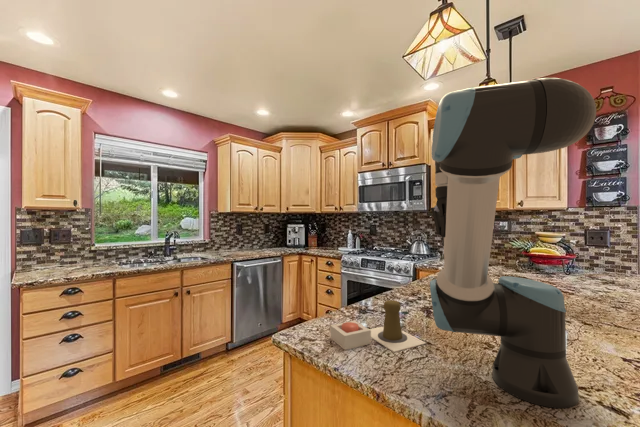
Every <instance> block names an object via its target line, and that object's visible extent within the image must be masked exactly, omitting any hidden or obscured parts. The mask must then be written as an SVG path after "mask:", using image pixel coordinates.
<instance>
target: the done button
mask: <svg viewBox="0 0 640 427" xmlns="http://www.w3.org/2000/svg"><path fill="white" fill-rule="evenodd" d="M345 322H346V323H345ZM345 322H342V323H343V324H342V330H343V331H344V332H346V333H349V332H354V331H358V324H356V323H353V322H350V321H345Z"/></svg>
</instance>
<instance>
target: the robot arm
mask: <svg viewBox="0 0 640 427" xmlns="http://www.w3.org/2000/svg"><path fill="white" fill-rule="evenodd" d="M596 118H597V105H596V101H595V99H594V96H593V95H592V93H591V92H589V91H588V89H586V87H584V86H582V85H581V84H579V83H577V82H575V81H572V80H570V79H566V78H561V77H559V78H558V77H542V78H535V79H530V80H524V81H523V80H522V81H515V82H506V83H505V82H504V83H499V84H492V85H491V84H490V85H483V86H481V85H480V86H475V87H473V86H472V87H468V88H463V89H459V90H455V91H454V90H453V91H449V92H447V93H446V94H445V95H444V96H442V98H441V99H440V101H439V103H438V106H437V109H436V114H435V119H434V124H433V130H432V131H433V132H432V142H431V143H432V144H431V159H432V160H433V161H434V168H435V169H434V170H435V172H434V174H435V175H434V176H435V177H434V179H435V180H434V183H435V184H434V185H435V186H436V187H435V192H434V193H435V198H436V203H435V204H436V205H434V207H430V212H431V213H432V215H433V220H434V225H435V229H436V234H437V235H438V236H439V235H440V236H441V239H442V242H441V243H442V247H443V256H444V259H443V260H444V262H443V263H444V264H443V266H444V267H443V269H441V270H440V271H439V272H438V273H437V275H436V278H434V279H431V280H430V281H429V292H430V299H431V306H432V312H433V314H432V315H433V319H434V320H433V321H434V323H435V326H436V327H437V328H438V329H439V330H441V331H446V332H452V333H455V334H456V333H459V334H460V333H462V334H474V335H483V336H494V337H500V345H499V348H498V350H497V353H496V355H495V358H494V361H493V363H492V367H491V368H492V379H493V381H494V382H495V384H496V385H497V386H498V387H500V388H501V389H502V390H504V391H505V392H506V393H508V394H510V395H512V396H513V397H516V398H518V399H521V400H523V401H524V402H529V403H531V404H535V405H538V406H543V407H547V408H555V409H557V408H558V409H562V408H563V409H565V408H566V409H567V408H570V407H574V406H575V405H577V404H578V403H579V399H580V398H579V388H578V385H577V384H578V383H576V382H577V381H576V379H575V376H574V374H573V372H572V369H571V366H570V365H569V362H568V360H567V345H566V344H567V343H566V342H567V340H566V339H567V338H566V335H567V334H566V331H567V330H566V313H567V309H566V306H565V296H564V294H563V292H562V291H561V289H559V288H558V287H556V286H554V285H551V284H548V283H546V282H542V281H539V280H538V281H537V280H533V279H530V278H526V277H525V278H524V277H517V276H510V275H509V276H508V275H507V276H504V275H503V276H500V277H499V278H498V280H497V282H498V283H495V282H494V281H493V280H492V277H490V276H489V275H488V274H489V266H490V265H489V264H490V259H491V258H490V256H491V250H492V242H493V235H494V225H495V220H496V219H495V218H496V211H497V202H498V195H499V187H500V179H501V177H502V176H504V175H505V174H507V173H508V172H509V171H511V169H512V167H513V160H517V159H520V158H522V157H523V155H524V156H525V155H534V154H542V153H547V152H548V153H549V152H554V151H558V150H561V149H565V148H567V147H570V146H572V145H573V144H575V143H577V142H580V140H582V139H583V137H585V136H586V135H587V134H588V133H589V132H590V130H592V128H593V126H594V123H595V121H596Z"/></svg>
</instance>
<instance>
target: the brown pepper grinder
mask: <svg viewBox="0 0 640 427" xmlns="http://www.w3.org/2000/svg"><path fill="white" fill-rule="evenodd" d="M383 310H384V312H385V313H384V320H383V326H384V329H383V337H384V338H386V339H388V340H400V339H402V331H403V329H402V325H401V318H400V311H401V304H400V302H399V301H398V300H394V299H389V300H385V301H384V303H383Z"/></svg>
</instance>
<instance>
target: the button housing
mask: <svg viewBox="0 0 640 427" xmlns="http://www.w3.org/2000/svg"><path fill="white" fill-rule="evenodd" d="M346 322H347V321H344V322H341V323H337V324H330V326H329V330H330V334H329V335H330V339H331V340H332V341H333V342H334V343H336V344H337V345H338V346H339V347H341V348H342V349H343V350H344V351H347V350H351V349H355V348H359V347H363V346H367V345H371V344H372V338H371V330H369V328H368V327H367V326H364V325H363V324H361V323H359V322H357V321H356V320H351V321H349V322H353V323H356V324H358V331H354V332H349V333H346V332H344V331H343V330H342V324H343V323H346Z"/></svg>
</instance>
